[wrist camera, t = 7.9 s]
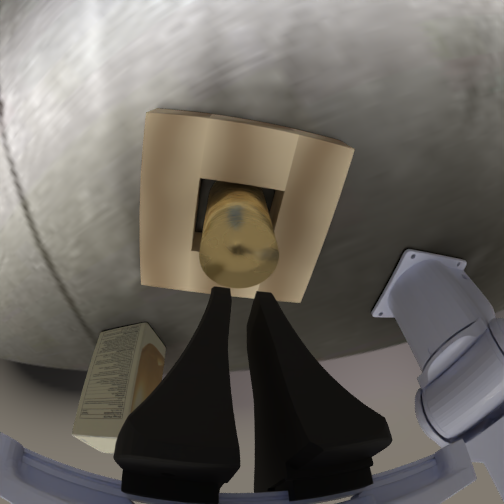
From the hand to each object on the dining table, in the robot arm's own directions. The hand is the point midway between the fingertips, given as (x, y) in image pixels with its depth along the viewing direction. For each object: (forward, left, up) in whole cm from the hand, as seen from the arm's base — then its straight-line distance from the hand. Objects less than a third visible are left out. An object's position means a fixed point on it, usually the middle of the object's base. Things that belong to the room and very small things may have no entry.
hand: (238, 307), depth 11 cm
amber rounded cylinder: (0, 0, -10) cm, 10 cm away
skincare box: (+8, +16, -10) cm, 21 cm away
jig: (0, 0, -10) cm, 10 cm away
